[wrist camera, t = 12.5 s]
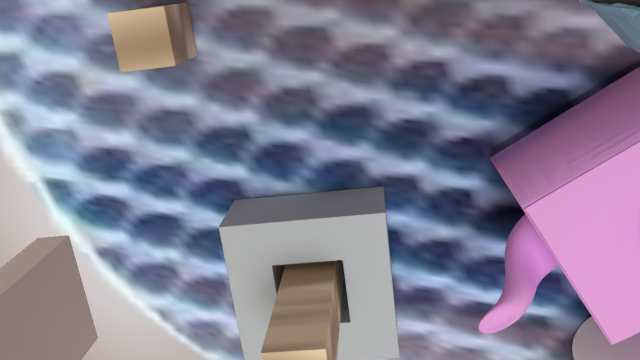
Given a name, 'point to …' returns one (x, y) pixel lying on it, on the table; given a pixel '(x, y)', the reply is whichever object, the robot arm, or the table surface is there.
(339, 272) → the long peg
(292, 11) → the table surface
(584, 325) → the cup
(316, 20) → the table surface
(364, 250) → the socket block
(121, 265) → the table surface
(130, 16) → the short peg
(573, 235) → the teapot
